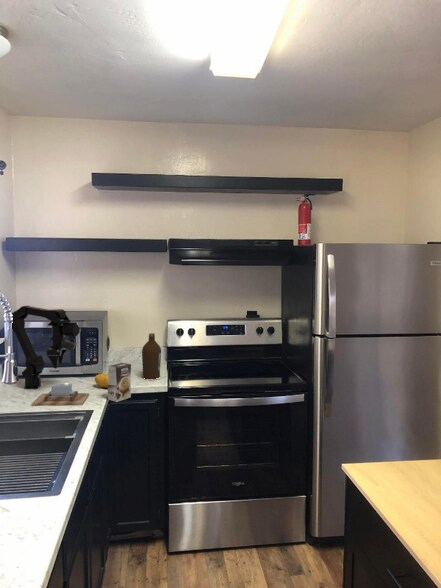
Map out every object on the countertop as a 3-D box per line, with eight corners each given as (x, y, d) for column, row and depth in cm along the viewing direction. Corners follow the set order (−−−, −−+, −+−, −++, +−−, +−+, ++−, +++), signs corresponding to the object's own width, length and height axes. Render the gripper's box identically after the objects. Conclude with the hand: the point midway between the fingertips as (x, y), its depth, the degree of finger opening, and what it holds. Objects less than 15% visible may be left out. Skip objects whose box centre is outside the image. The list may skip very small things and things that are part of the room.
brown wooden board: (31, 405, 193) (31, 399, 192) (42, 395, 208) (42, 389, 207) (82, 405, 195) (82, 398, 195) (89, 395, 210) (89, 389, 210)
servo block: (47, 399, 198) (47, 384, 198) (50, 396, 203) (50, 382, 202) (73, 399, 199) (73, 384, 199) (75, 396, 204) (75, 381, 203)
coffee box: (117, 402, 200) (117, 367, 199) (107, 399, 204) (107, 365, 203) (131, 397, 208) (131, 363, 207) (121, 394, 211) (121, 362, 210)
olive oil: (142, 380, 237) (142, 335, 235) (141, 375, 247) (141, 332, 246) (161, 380, 239) (162, 335, 238) (160, 375, 250) (160, 332, 248)
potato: (101, 384, 229) (101, 371, 228) (124, 387, 223) (124, 374, 223) (92, 387, 222) (92, 374, 222) (115, 391, 217) (115, 377, 216)
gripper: (70, 338, 207) (70, 370, 208) (79, 332, 226) (79, 361, 227) (46, 338, 206) (46, 370, 207) (56, 331, 225) (56, 361, 226)
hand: (58, 366), depth 217 cm, fingers open, 9 cm apart
